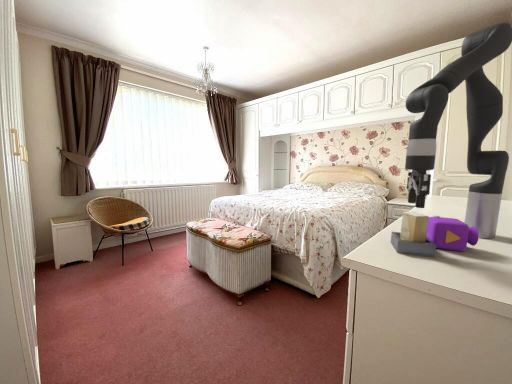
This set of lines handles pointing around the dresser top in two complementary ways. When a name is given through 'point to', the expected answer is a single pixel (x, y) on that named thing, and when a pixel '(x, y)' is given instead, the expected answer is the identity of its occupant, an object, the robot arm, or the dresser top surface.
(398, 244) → the tray
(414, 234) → the skincare box
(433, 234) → the toy camera
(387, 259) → the dresser top surface
